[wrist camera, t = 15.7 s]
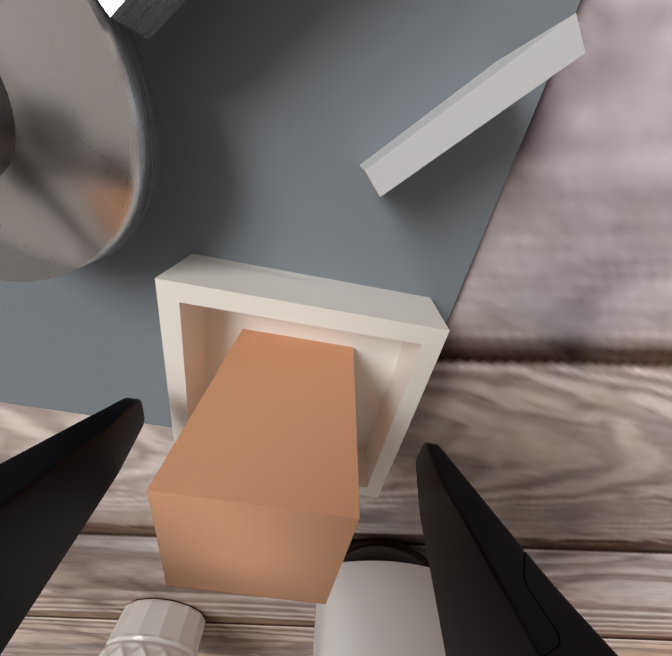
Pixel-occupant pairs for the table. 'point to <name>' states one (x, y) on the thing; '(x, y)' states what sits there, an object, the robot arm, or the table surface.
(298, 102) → the faceplate
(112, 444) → the robot arm
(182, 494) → the block
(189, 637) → the white cup
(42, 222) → the crank wheel
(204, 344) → the tray
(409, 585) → the spread jar
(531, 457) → the table surface
